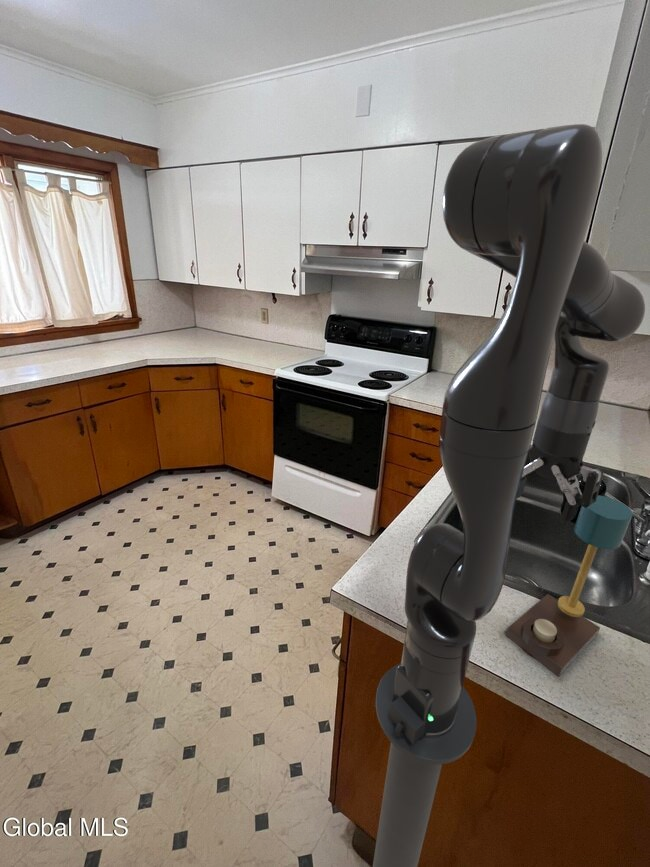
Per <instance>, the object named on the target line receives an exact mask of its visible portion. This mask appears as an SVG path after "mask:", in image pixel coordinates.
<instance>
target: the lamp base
mask: <svg viewBox="0 0 650 867" xmlns="http://www.w3.org/2000/svg"><path fill="white" fill-rule="evenodd" d="M558 600H559V599H558V598H555V597H554V596H552V595H551V594H549V593H547V594H545V596H544V597H542V598H541V599H540V600H539V601H537V603H535V604H534V605H533V606H532V607H531V608H529V609H528V610H527V611H526V612H524V613H523V614H522V615H521V616H520V617H519V618H517V619H516V620H515V621H514V622H512V623H511V624H510V625H509V626H508V627H507V630H506V634H505V635H506V637H507V638H508V639H510V640H511V641H512V642H514V643H515V644H517V645H518V646H519V647H520V648H521V649H522V650H524V651H525V652H527V653H528V654H529V655H530V656H532V657H533V658H534V659H535V660H537V662H540V664H542V665H543V666H544V667H545V668H547V669H548V670H550V671H551V672H552V673H553V674H555V675H556V676H557V677H560V676H562V674H563V673H564V672H565V671H567V669H568V667H570V665H571V664H572V663H574V661H575V660H576V659H577V658H578V657H579V656H580V655H581V654H582V653H583V651H584V650H585V649H586V648H587V647H588V646H589V645H590V644H592V642H593V641H594V640H595V638H597V636H598V634H599V632H600V630H601V627H600V626H598V625H597V624H595V623H594V622H592V621H591V620H589V619H588V618H586V617H585V616H584V615H582V616H581V617H572V616H569V615H567V614H565V613H564V612H563V611H561V610H560V608H559V607H558ZM538 619H545V620H548V621H550V622H551V623H552V624H553V625H554V626H555V627H556V629H557V634H556V636H555V639H554V641H553V642H551V643H546V642H543V641H540V640H539V639H538V638H536V637H535V636H534V634H533V631H532V629H533V626H534V623H535V621H536V620H538Z"/></svg>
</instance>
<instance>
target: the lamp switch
mask: <svg viewBox="0 0 650 867" xmlns="http://www.w3.org/2000/svg"><path fill="white" fill-rule="evenodd" d="M532 631H533V634H534V636H535V637H536V638H538V639H539V640H540V641H543V642H546V643H551V642H553V641H554V639H555V636H556V634H557V629H556V627H555V626H554V625H553V624H552V623H551V622H550V621H548V620H545V619H538V620H536V621H535V623H534V626H533V629H532Z"/></svg>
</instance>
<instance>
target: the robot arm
mask: <svg viewBox="0 0 650 867" xmlns="http://www.w3.org/2000/svg"><path fill="white" fill-rule="evenodd" d="M602 149H603V148H602V141H601V138H600V136H599V133H598V131H597V130H596V129H595V128H594V127H592V126H591V125H589V124H585V123H581V124H580V123H575V124H565V125H557V126H551V127H546V128H539V129H533V130H526V131H520V132H513V133H507V134H506V133H505V134H499V135H495V136H491V137H487V138H484V139H481V140H478V141H475V142H473V143H471V144H470V145H468V146H466V147H465V148H464V149H463V150H462V151H460V153H459V154H458V155H457V156H456V158H455V159H454V161H453V163H452V164H451V166H450V168H449V170H448V172H447V176H446V179H445V181H444V182H445V183H444V187H443V194H442V208H441V209H442V216H443V217H442V218H443V221H444V226H445V228H446V231H447V233H448V235H449V236H450V238H451V239H452V241H453V242H454V243H455V245H457V247H460V248H461V249H462V250H464V251H466V252H467V253H469V254H471V255H473V256H475V257H478V258H480V259H483V260H484V261H487V262H488V263H490V264H492V265H494V266H495V267H497V268H499V269H500V270H502V271H503V272H506V273H508V274H509V275H511V276H512V277H514V278H515V281H514V285H513V288H512V290H511V294H510V296H509V298H508V302H507V305H506V307H505V309H504V311H503V312H502V316H501V317H500V318H499V320H498V322H497V323H496V325H495V326H494V327H493V329H492V330H491V331H490V333H489V334H488V335H487V337H486V338H485V339H484V340H483V341H482V342H481V344H479V346H478V347H477V348H476V349H475V350H474V351H473V352H472V353H471V355H470V356H469V357H468V358H467V359H466V360H465V361H464V363H463V364H461V366H460V367H459V369H458V370H457V371H456V373H455V374H454V376H453V377H452V378H451V380H450V381H449V383H448V385H447V387H446V390H445V393H444V396H443V401H442V410H441V418H440V424H439V425H440V427H439V433H438V434H439V435H438V452H439V457H440V461H441V464H442V465H441V466H442V469H443V472H444V475H445V477H446V480H447V483H448V485H449V489H450V491H451V493H452V496H453V498H454V501H455V504H456V506H457V509H458V512H459V514H460V519H461V522H462V523H461V524H462V529H463V531H461V530H459V529H458V528H456V527H454V526H453V525H451V524H449V523H444V522H439V523H435V524H432V525H429V527H427V528H426V529H425V530H424V531H422V533H420V535H419V536H418V537H417V540H416V541H415V542H414V544H413V547H412V550H411V552H410V555H409V558H408V563H407V567H406V568H407V569H406V576H405V578H406V579H405V592H404V593H405V595H404V614H405V617H406V619H407V621H406V628H405V634H404V641H403V646H402V647H403V648H402V655H401V661H400V664H401V665H400V666H398V667H397V670H396V678H395V685H394V692H393V699H392V704H391V711H390V717H391V719H392V720H393V721H394V722H395V723H396V725H397V727H396V730H395V734H396V736H397V737H405V736H406V737H407V738H408V739H409V740H410V741H411V743H412V744H413V743H415V742H416V741H417V740H418V739H419V740H422V739H423V738H424V737H438V736H442V735H444V734H446V733H447V732H448V731H450V729H451V728H452V727H453V725H454V723H455V719H456V715H457V708H458V704H459V700H460V696H461V692H462V688H463V687H464V684H465V679H466V676H467V671H468V666H469V662H470V659H471V655H472V651H473V647H474V643H475V640H476V639H475V638H476V634H477V623H476V622H477V621H479V620H482V619H483V618H485V617H486V616H487V615H488V614H489V613H490V612H491V611H492V609H493V608H494V606H495V605H496V603H497V601H498V599H499V598H500V595H501V593H502V590H503V586H504V583H505V579H506V575H507V568H508V562H509V554H510V545H511V535H512V527H513V521H514V520H513V519H514V515H515V514H514V513H515V508H516V503H517V499H519V498H520V497H522V496H523V494H524V491H525V487H526V484H527V479H528V477H527V476H528V475H529V474H530V473H533V472H534V473H535V474H536V476H538V477H541V478H543V479H547V480H548V481H550V482H551V483H554V484H558V486H559V489H560V491H561V492H562V493H563V494H564V496H565V498H566V500H567V501H566V502H565V504H564V506H563V510H562V513H561V517H560V522H561V523H564V524H566V523H567V522H571V521H572V520H573V519H575V518H576V517H577V513H578V510H579V508H580V506H581V507H582V506H583V507H585V508H587V507H589V506H590V505H591V504H592V503H594V502H596V499H597V495H599V492H600V487H601V484H602V480H603V476H604V470H603V469H602V468H600V467H597V468H595V469H594V468H591V467H589V466H586V465H584V461H583V459H584V457H585V454H586V450H587V447H588V444H589V441H590V438H591V435H592V431H593V429H594V427H595V425H596V422H597V421H596V419H597V416H598V413H599V412H598V411H599V404H600V401H601V397H602V394H603V392H604V389H605V385H606V381H607V378H608V376H609V371H610V363H609V361H608V360H607V359H606V358H604V357H602V356H600V355H598V354H595V353H593V352H591V351H589V350H587V349H586V348H585V347H584V345H583V342H582V338H584V339H591V340H595V341H602V342H608V343H615V342H616V343H617V342H621V341H624V340H626V339H629V338H630V337H631V336H632V335H634V334H635V333H636V332H637V331H638V329H639V328H640V327H641V325H642V323H643V321H644V318H645V313H646V304H645V298H644V296H643V294H642V292H641V290H639V288H637V286H635V285H634V284H633V283H631V282H630V281H627V280H626V279H624V278H622V277H621V276H619V275H617V274H615V273H613V272H612V271H611V269H610V267H609V265H608V263H607V261H606V260H605V258H604V257H603V255H602V254H601V253H600V252H599V251H598V250H597V249H596V248H595V247H594V246H593V245H591V244H589V243H588V242H587V241H585V239H586V235H587V232H588V229H589V226H590V223H591V219H592V215H593V213H594V209H595V205H596V201H597V197H598V192H599V187H600V183H601V175H602V168H603V167H602V166H603V150H602ZM553 344H554V357H553V358H554V360H553V368H552V372H551V376H550V380H549V383H548V387H547V391H546V393H545V396H544V397H543V401H542V404H541V398H542V393H543V389H544V384H545V380H546V375H547V370H548V369H547V368H548V365H549V360H550V357H551V352H552V348H553ZM540 404H541V407H540ZM539 409H540V411H539ZM528 458H529V460H530V463H529V464H527V459H528ZM526 464H527V465H526ZM578 474H580V475H582V480H583V482H585V484H584V487H583V492H582V491H581V489H580V481H579V479H578V477H577V475H578Z"/></svg>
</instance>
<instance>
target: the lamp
mask: <svg viewBox="0 0 650 867" xmlns="http://www.w3.org/2000/svg"><path fill="white" fill-rule="evenodd" d="M633 516H634V514H633V511H632V509H631V508H630V507H629V506H628V505H626V504H625V503H624V502H622V501H619V500H618V499H614V498H612V497H608V496H604V495H599V494H598V495H597V499H596V502H594V503H592V504H591V505H590V506H589V507H587V508H585V507H583V506H581V507H580V511H579V513H578V515H577V519H576V521H575V525H574V528H573V531H574V534H575V535H576V536H577V537H578V539H580V540H581V541H583V542H584V543H585V544H587V547H586V551H585V553H584V556H583V558H582V561H581V564H580V567H579V569H578V573H577V575H576V579H575V581H574V583H573V586H572V590H571V592H570V595H562V596H559V598H558V599H557V600H558V607H559V608H560V610H561V611H563V612H564V613H565V614H567V615H569V616H572V617H581V616H584V614H585V612H586V611H585V610H586V607H585V606H584V604H583V603H582V601H580V600H579V599H580V596H581V594H582V591H583V589H584V586H585V583H586V580H587V578H588V575H589V573H590V570H591V567H592V564H593V562H594V560H595V556H596V555H597V551H598V549H603V550H616V549H618V548H620V547H621V545H622V544H623V540H624V538H625V536H626V533H627V531H628V528H629V525H630V523H631V520H632V518H633Z"/></svg>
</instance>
